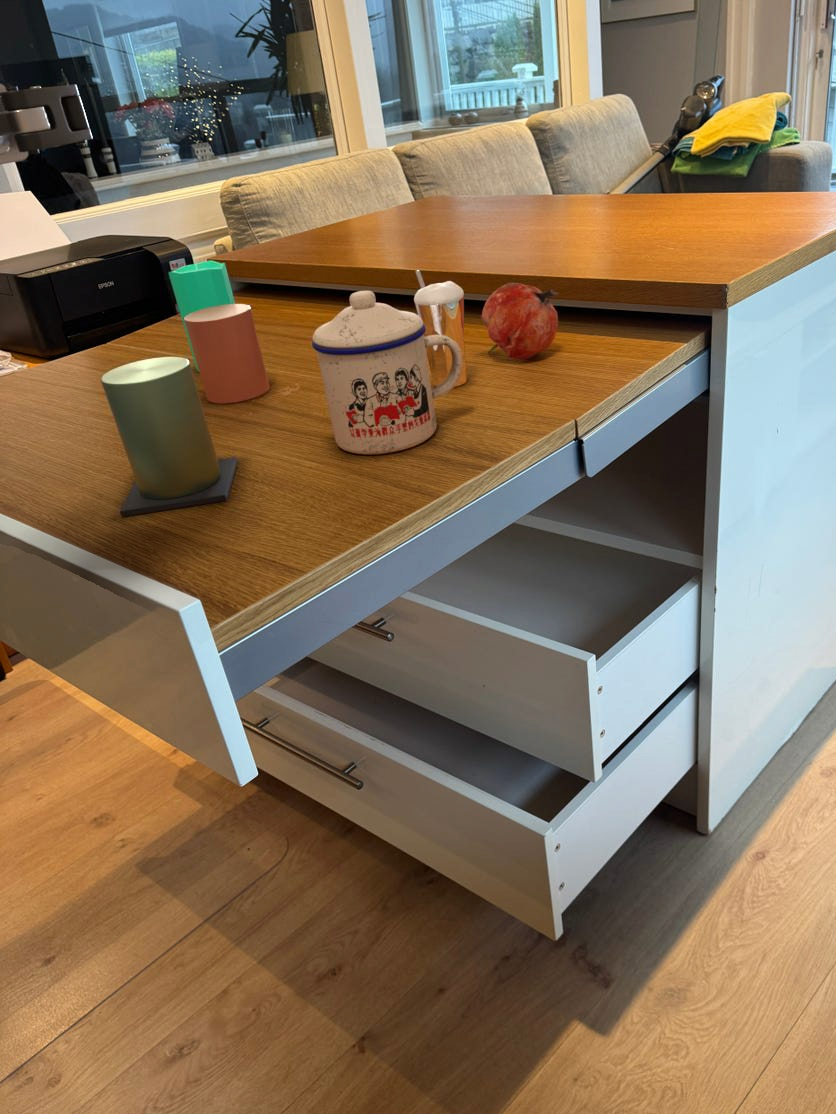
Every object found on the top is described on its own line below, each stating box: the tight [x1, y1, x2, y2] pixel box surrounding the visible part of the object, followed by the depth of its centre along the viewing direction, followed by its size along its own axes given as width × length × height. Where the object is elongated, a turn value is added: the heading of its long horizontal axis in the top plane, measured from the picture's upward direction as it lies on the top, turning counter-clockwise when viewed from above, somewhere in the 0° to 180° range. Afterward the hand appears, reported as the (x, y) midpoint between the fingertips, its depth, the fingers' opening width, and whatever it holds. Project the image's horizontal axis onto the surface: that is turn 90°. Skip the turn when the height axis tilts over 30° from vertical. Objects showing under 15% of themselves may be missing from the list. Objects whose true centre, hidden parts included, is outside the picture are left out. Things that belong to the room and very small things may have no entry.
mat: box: [119, 456, 239, 518], centre depth 71 cm, size 8×8×1 cm
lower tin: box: [184, 303, 271, 405], centre depth 89 cm, size 6×6×8 cm
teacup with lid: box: [311, 290, 462, 455], centre depth 73 cm, size 12×9×12 cm
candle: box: [168, 251, 236, 373], centre depth 98 cm, size 6×6×12 cm
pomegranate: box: [481, 282, 559, 360], centre depth 89 cm, size 7×7×10 cm
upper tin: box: [100, 356, 221, 500], centre depth 68 cm, size 6×6×9 cm
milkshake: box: [413, 269, 467, 388], centre depth 84 cm, size 4×5×10 cm
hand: (1, 122), depth 50 cm, fingers open, 8 cm apart
